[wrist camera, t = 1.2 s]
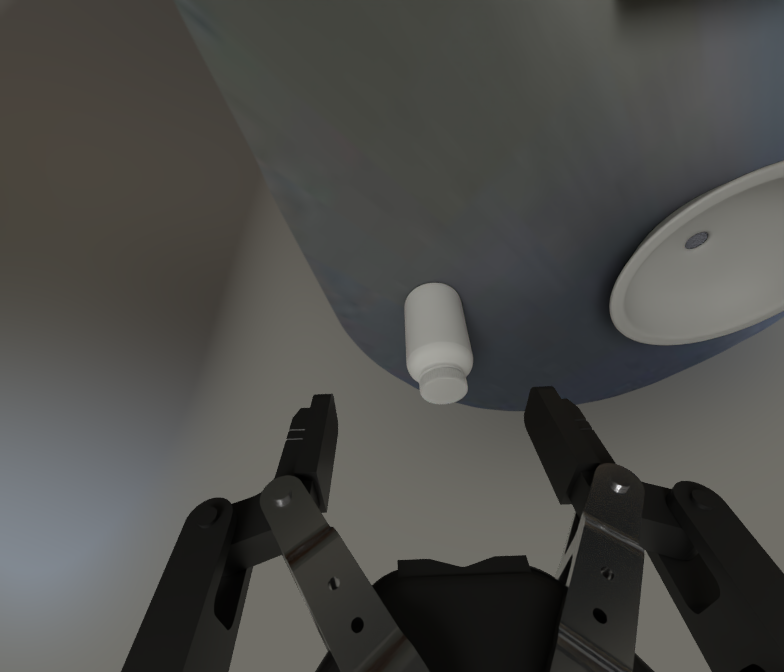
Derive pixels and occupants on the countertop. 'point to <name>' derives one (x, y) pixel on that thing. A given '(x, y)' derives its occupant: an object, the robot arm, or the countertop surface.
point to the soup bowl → (707, 266)
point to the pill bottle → (437, 343)
